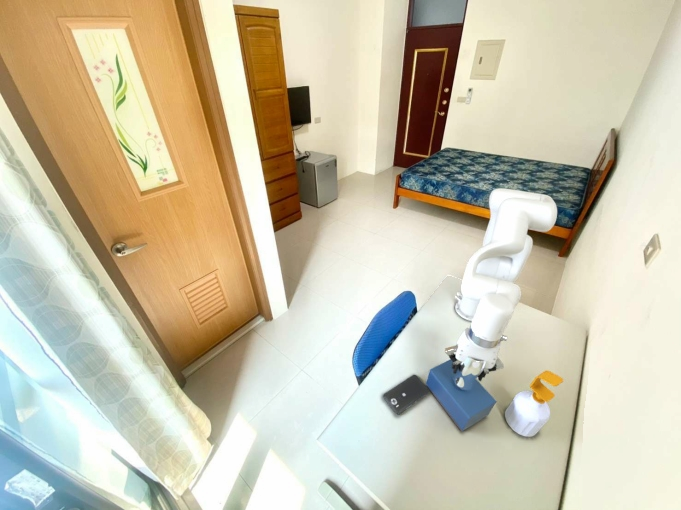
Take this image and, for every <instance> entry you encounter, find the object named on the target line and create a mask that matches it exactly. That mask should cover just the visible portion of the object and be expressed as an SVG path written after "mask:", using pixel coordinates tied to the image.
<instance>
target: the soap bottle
mask: <svg viewBox="0 0 681 510" xmlns="http://www.w3.org/2000/svg"><path fill="white" fill-rule="evenodd" d="M542 381H544V382H545V383H547V384H548V385H550V386H552V387H557V386H559V385H561V384H562V383H563V382H564V378H563V377H561V376H559V375H557V374H555V373H554V372H552V371H550V370H547V369H546V370H544V371H542V372H541V373H540V374H538V375H537V376H535V377H534V379H533V380H532V382H531V383H530V385H529V388H530V389H531V390H532V391H530V390H522V391H520V392H517V394H516V395H515V396H514V398H513V399H512V401H511V402H510V404H509V405H508V407H507V408H506V409H505V412H504V418H505V421H506V423H507V425H508V426H509V428H511V429H512V431H514V433H516V434H518V435H520V436H522V437H527V438H528V437H529V438H532V437H534V436H536V435H537V433H538V432H539V431H540V430H541V429H542V428H543V427H544V425H546V423H547V422H548V421H549V419H550V418H551V409H550V406H549V404H548V402H550V401H551V400H552V399H554V398H555V397H556V396H555V393H554V392H553V391H552V390H551V389H550V388H548V387H547V386H546V385H545V384H543V383H542Z"/></svg>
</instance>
